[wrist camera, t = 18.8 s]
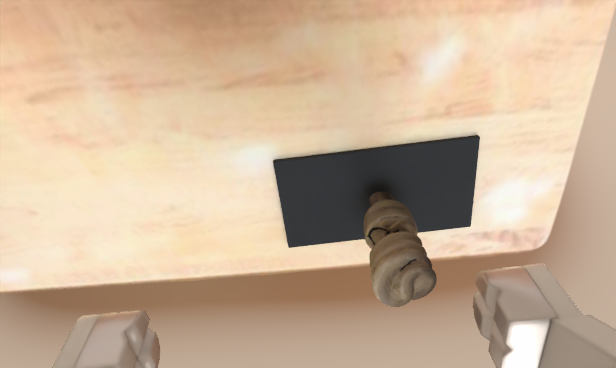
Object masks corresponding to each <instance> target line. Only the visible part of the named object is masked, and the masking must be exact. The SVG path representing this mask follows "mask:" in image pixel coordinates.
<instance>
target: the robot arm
mask: <svg viewBox="0 0 616 368" xmlns="http://www.w3.org/2000/svg"><path fill="white" fill-rule="evenodd" d="M476 285H477V287H478V289H479V292H477V293H476V294H475V295H474V302H473V309H474V316H475V320H476V323H477V326H478V329H479V331H480V333H481V335H482V336H483V337H485V338H486V339H488V340H489V341H490V344H489V353H490V355H491V357H492V360H493V361H494V364H495V366H496V368H616V329H614V328H612V327H611V326H609V325H607V324H605V323H603V322H602V321H600V320H598V319H596V318H594V317H593V316H590V315H586V316H583V314H582V313H581V312H580V310H579V309H578V308H577V306H576V305H575V303H574V302H573V301H572V299H571V298H570V297H569V295H568V294H567V293H566V291H565V290H564V289H563V287H562V286H561V285H560V283H559V282H558V281H557V279H556V278H555V276H554V275H553V274H552V272H551V271H550V270H549V268H548V267H547V266H546V265H544V264H543V263H541V264H533V265H525V266H516V267H508V268H500V269H492V270H484V271H479V272H478V274H477V276H476ZM149 321H150V319H149V317H148V315H147V313H146V311H141V310H139V311H128V312H117V313H105V314H98V315H87V316H82V317H80V318H79V319H78V320H77V321H76V323H75V325H74V326H73V328H72V330H71V332H70V334H69V336H68V338H67V340H66V342H65V344H64V346H63V348H62V350H61V352H60V354H59V356H58V358H57V360H56V362H55V363H54V365H53V367H52V368H157V367H158V364H159V360H160V359H159V358H160V345H159V340H158V337H157V335H156V333H155V332H154V331H153V330H151V329H149V328H148V324H149Z"/></svg>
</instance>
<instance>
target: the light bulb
mask: <svg viewBox="0 0 616 368" xmlns="http://www.w3.org/2000/svg"><path fill="white" fill-rule="evenodd" d="M369 204H370V208H369V209H368V211H367V212H366V214H365V216H364V221H363V227H364V235H365V240H366V243H367V244H368V246H369V247H370V248H371V249H372V250H371V252H370V267H371V279H372V286H373V290H374V293H375V295H376V297H377V298H378V299H379V300H380V301H381V302H382V303H384V304H385V305H388V306H391V307H400V306H404V305H405V304H407V303H409V302H410V301H411V300H415V299H419V298H422V297H424V296H426V295H427V294H428V293H430V292H431V291H432V290H433V288H434V287H435V284H436V274H435V272H434V271H433V270H432V264H431V261H430V260H429V258H428V257H427V253H426V251H425V249H424V248H423V247H422V242H421V240H420V238H419V237H418V236H417V226H416V223H415V220H414V218H413V216H412V214H411V212H410V210H409V209H408V208H407V207H406V206H405V205H404V204H402V203H401V202H399V201H396V200H395V198H394V196H392V195H390V194H389V193H388V192H385V191H382V192H376V193H374V194H372V195H371V196H370V198H369Z"/></svg>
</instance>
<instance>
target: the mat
mask: <svg viewBox="0 0 616 368" xmlns="http://www.w3.org/2000/svg"><path fill="white" fill-rule="evenodd" d="M479 140H480V137H479V136H478V135H477V136H469V137H460V138H452V139H444V140H436V141H428V142H419V143H411V144H403V145H395V146H387V147H378V148H370V149H362V150H354V151H345V152H337V153H329V154H321V155H313V156H304V157H296V158H288V159H280V160H274V161H273V163H274V169H275V174H276V180H277V185H278V191H279V197H280V202H281V208H282V213H283V219H284V224H285V230H286V235H287V241H288V246H289V248H290V247H299V246H307V245H316V244H324V243H333V242H341V241H350V240H358V239H365V235H364V227H363V221H364V216H365V214H366V212H367V211H368V209H369V208H370V204H369V198H370V196H371V195H372V194H374V193H376V192H382V191H385V192H388V193H389V194H390V195H392V196H394V198H395V200H396V201H399V202H401V203H402V204H404V205H405V206H406V207H407V208H408V209H409V210H410V212H411V214H412V216H413V218H414V220H415V223H416V226H417V233H418V232H427V231H435V230H444V229H453V228H461V227H470V226H471V216H472V207H473V197H474V187H475V178H476V168H477V159H478V149H479Z"/></svg>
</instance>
